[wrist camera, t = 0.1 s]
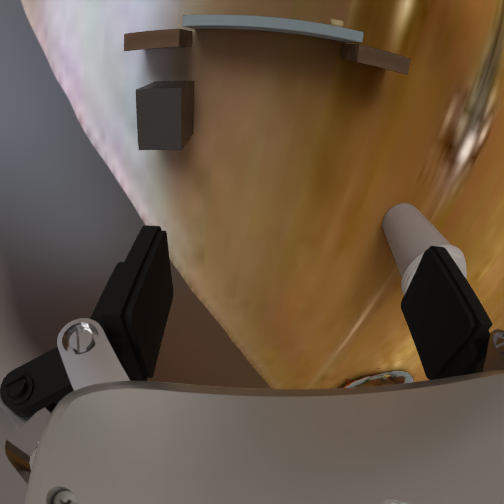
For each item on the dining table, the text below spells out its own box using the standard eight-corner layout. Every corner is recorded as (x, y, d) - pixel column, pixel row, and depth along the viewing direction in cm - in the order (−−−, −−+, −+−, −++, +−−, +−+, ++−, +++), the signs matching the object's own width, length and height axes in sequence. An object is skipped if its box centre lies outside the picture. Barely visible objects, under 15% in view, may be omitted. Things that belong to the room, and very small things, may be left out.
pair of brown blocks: (144, 34, 30) (124, 33, 25) (388, 55, 31) (410, 58, 25) (144, 49, 31) (124, 51, 26) (386, 69, 32) (407, 74, 27)
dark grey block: (155, 81, 34) (135, 89, 28) (194, 80, 34) (181, 87, 28) (156, 132, 38) (138, 149, 32) (193, 132, 38) (181, 150, 32)
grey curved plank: (194, 12, 28) (183, 6, 23) (348, 26, 28) (364, 23, 24) (193, 29, 29) (182, 25, 25) (346, 42, 30) (362, 42, 25)
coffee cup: (384, 255, 49) (414, 323, 37) (364, 212, 45) (398, 280, 33) (432, 229, 46) (474, 291, 34) (417, 183, 41) (467, 242, 29)
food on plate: (324, 378, 73) (327, 401, 68) (417, 356, 69) (424, 377, 64) (331, 414, 88) (333, 432, 83) (406, 397, 83) (410, 414, 78)
